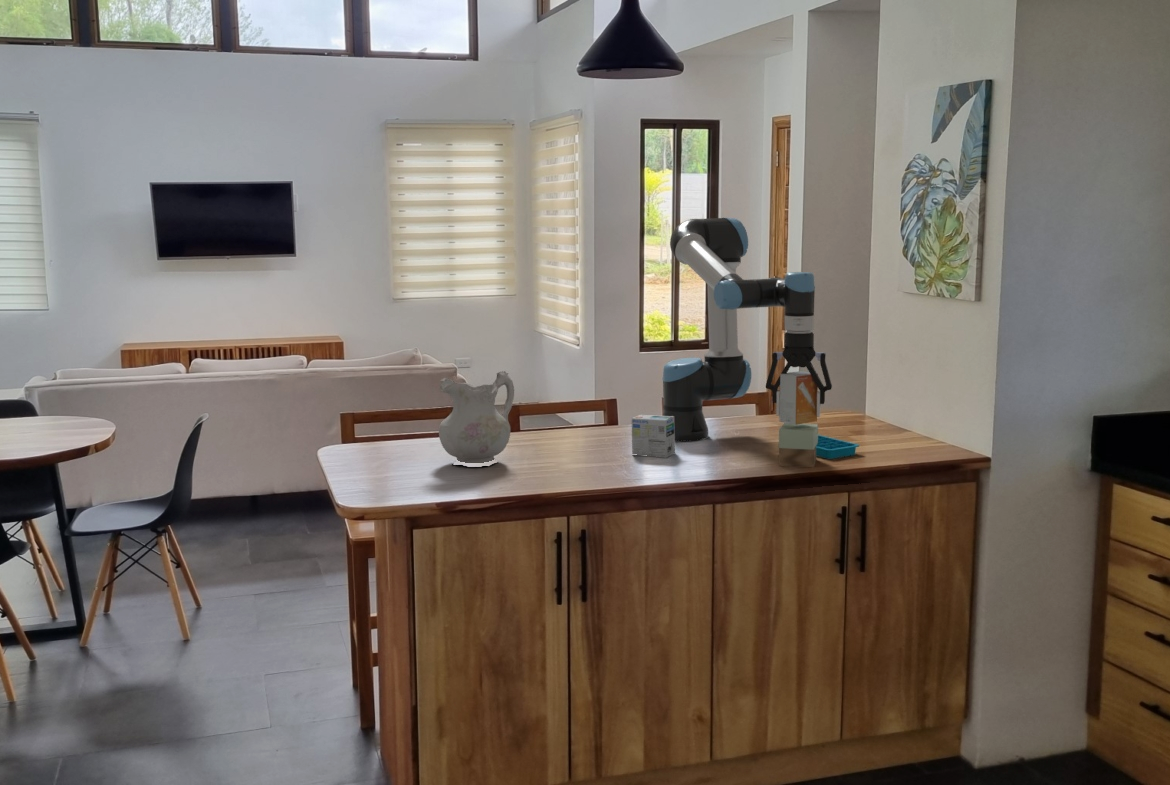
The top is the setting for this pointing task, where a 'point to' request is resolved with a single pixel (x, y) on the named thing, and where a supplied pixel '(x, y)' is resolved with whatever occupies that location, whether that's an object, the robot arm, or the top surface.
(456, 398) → the ceramic pitcher
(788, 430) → the sage block
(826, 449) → the ice cube tray
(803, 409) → the small box
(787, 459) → the walnut block
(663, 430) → the light bulb box
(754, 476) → the top surface
